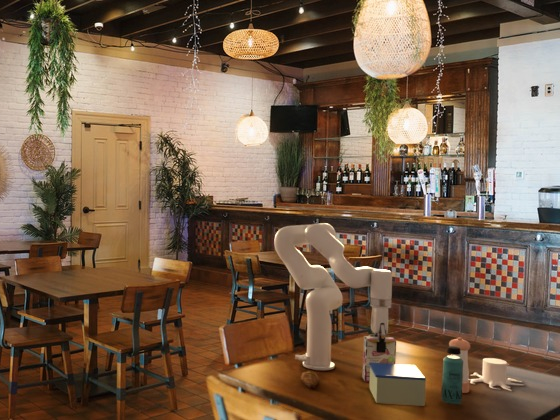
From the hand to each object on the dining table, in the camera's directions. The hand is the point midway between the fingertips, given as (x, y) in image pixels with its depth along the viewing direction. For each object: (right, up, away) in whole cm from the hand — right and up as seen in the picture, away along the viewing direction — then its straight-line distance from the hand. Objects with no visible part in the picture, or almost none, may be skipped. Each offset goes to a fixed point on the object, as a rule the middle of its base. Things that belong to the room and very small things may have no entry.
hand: (379, 349), depth 244 cm
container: (0, -13, -18) cm, 22 cm away
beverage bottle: (+16, -14, -25) cm, 33 cm away
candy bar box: (0, -12, +1) cm, 12 cm away
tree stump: (+44, -13, +1) cm, 45 cm away
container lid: (0, -4, -18) cm, 18 cm away
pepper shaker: (+26, -13, -9) cm, 30 cm away
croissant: (-27, -12, -4) cm, 30 cm away
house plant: (+14, -10, +45) cm, 48 cm away
